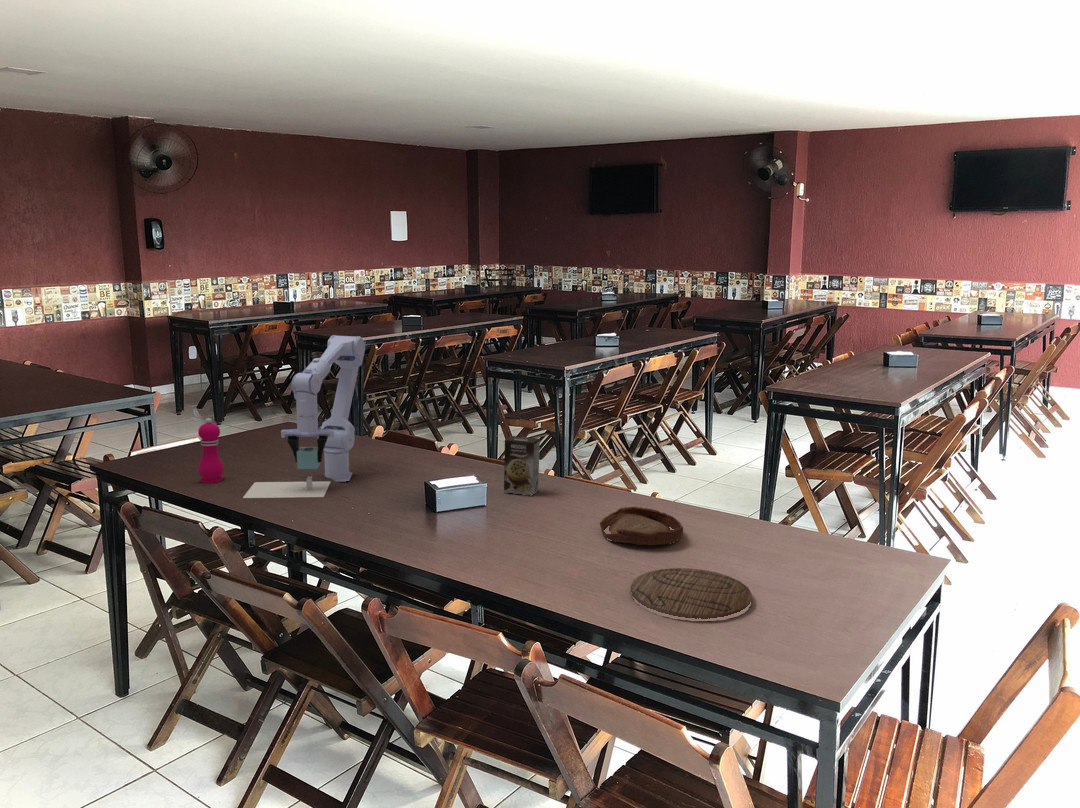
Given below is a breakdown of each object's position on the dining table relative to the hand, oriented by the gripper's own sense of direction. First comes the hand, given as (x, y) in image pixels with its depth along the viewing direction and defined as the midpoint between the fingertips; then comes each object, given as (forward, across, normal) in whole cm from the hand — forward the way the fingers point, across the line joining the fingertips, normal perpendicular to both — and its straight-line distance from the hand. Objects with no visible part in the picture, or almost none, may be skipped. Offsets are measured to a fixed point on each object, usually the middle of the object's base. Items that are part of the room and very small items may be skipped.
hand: (308, 461), depth 254 cm
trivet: (+10, +90, -81) cm, 121 cm away
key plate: (+9, -6, 0) cm, 11 cm away
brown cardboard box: (+10, +61, -2) cm, 62 cm away
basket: (+10, +88, -42) cm, 98 cm away
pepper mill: (+10, -30, +11) cm, 33 cm away
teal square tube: (+1, 0, 0) cm, 1 cm away
